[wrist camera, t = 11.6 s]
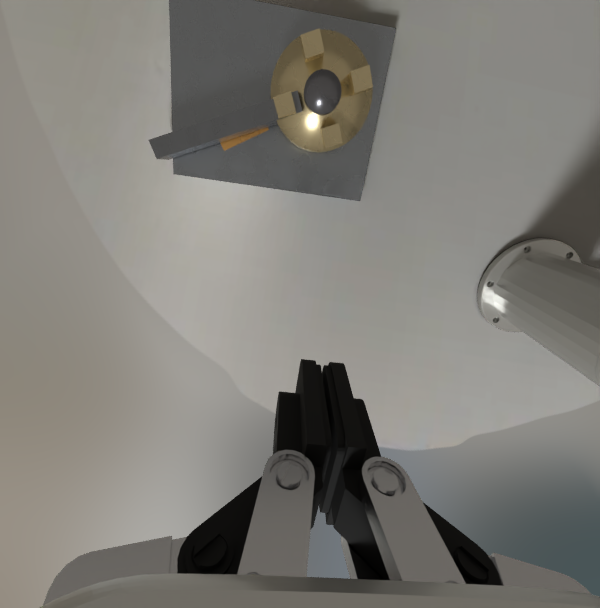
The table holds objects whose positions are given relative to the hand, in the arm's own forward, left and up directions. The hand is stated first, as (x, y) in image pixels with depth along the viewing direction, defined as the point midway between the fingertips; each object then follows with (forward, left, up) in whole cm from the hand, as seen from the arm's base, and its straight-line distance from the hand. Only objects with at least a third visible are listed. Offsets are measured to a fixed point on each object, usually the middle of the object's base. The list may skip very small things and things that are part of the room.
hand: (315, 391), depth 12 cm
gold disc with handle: (+5, -12, -25) cm, 28 cm away
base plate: (+4, -13, -27) cm, 30 cm away
